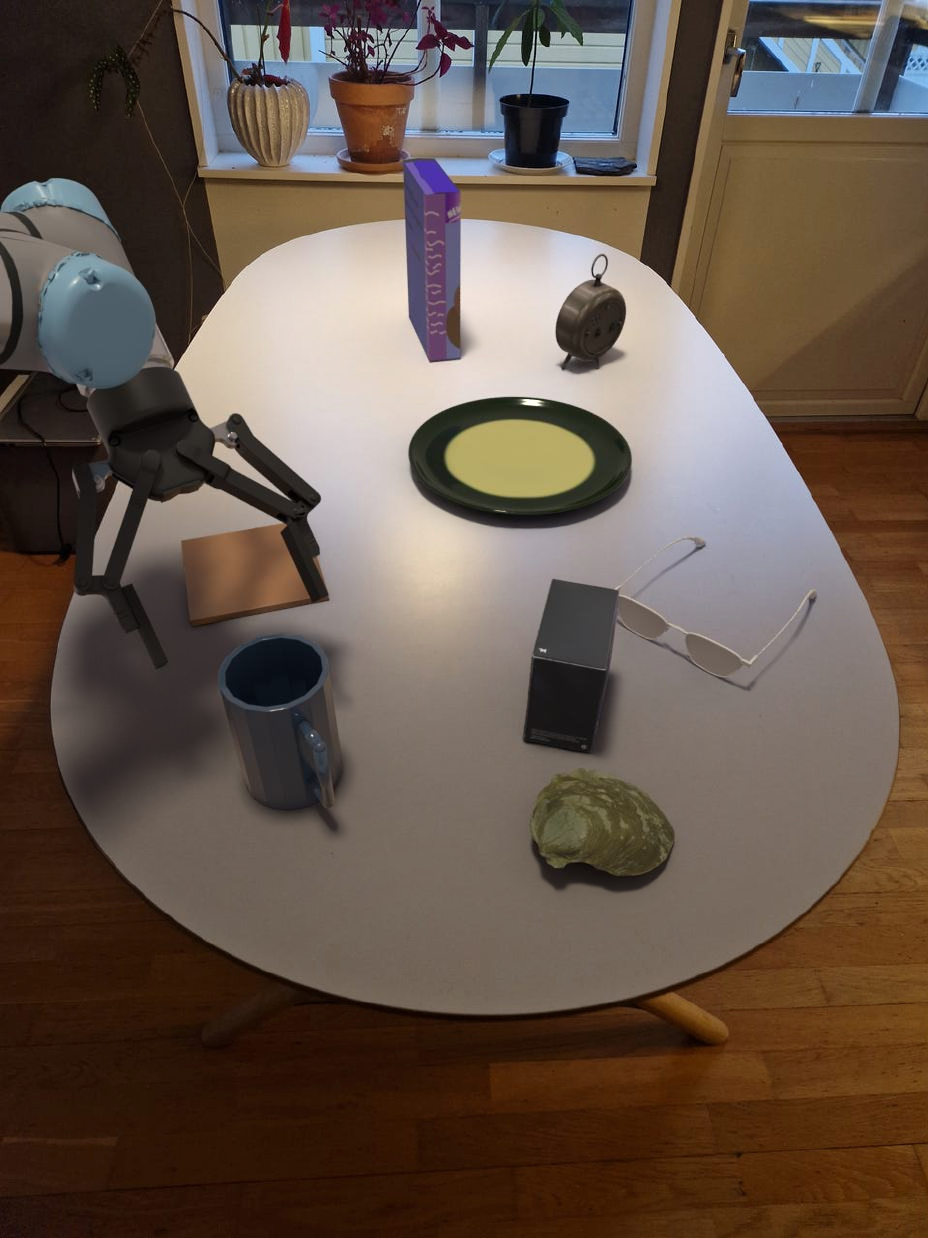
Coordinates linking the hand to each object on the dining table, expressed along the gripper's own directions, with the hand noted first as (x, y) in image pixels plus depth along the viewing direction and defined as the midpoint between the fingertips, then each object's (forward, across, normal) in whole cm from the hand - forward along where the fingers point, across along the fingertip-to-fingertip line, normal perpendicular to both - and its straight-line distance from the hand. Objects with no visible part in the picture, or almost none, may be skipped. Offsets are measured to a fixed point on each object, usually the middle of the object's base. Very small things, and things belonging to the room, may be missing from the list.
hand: (245, 631), depth 69 cm
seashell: (+27, -16, +10) cm, 33 cm away
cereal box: (-34, -58, -51) cm, 84 cm away
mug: (+13, 0, -4) cm, 14 cm away
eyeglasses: (+17, -45, 0) cm, 48 cm away
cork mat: (-7, -9, -24) cm, 26 cm away
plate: (-7, -46, -24) cm, 52 cm away
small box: (+18, -24, +1) cm, 30 cm away
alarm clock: (-18, -72, -36) cm, 83 cm away
